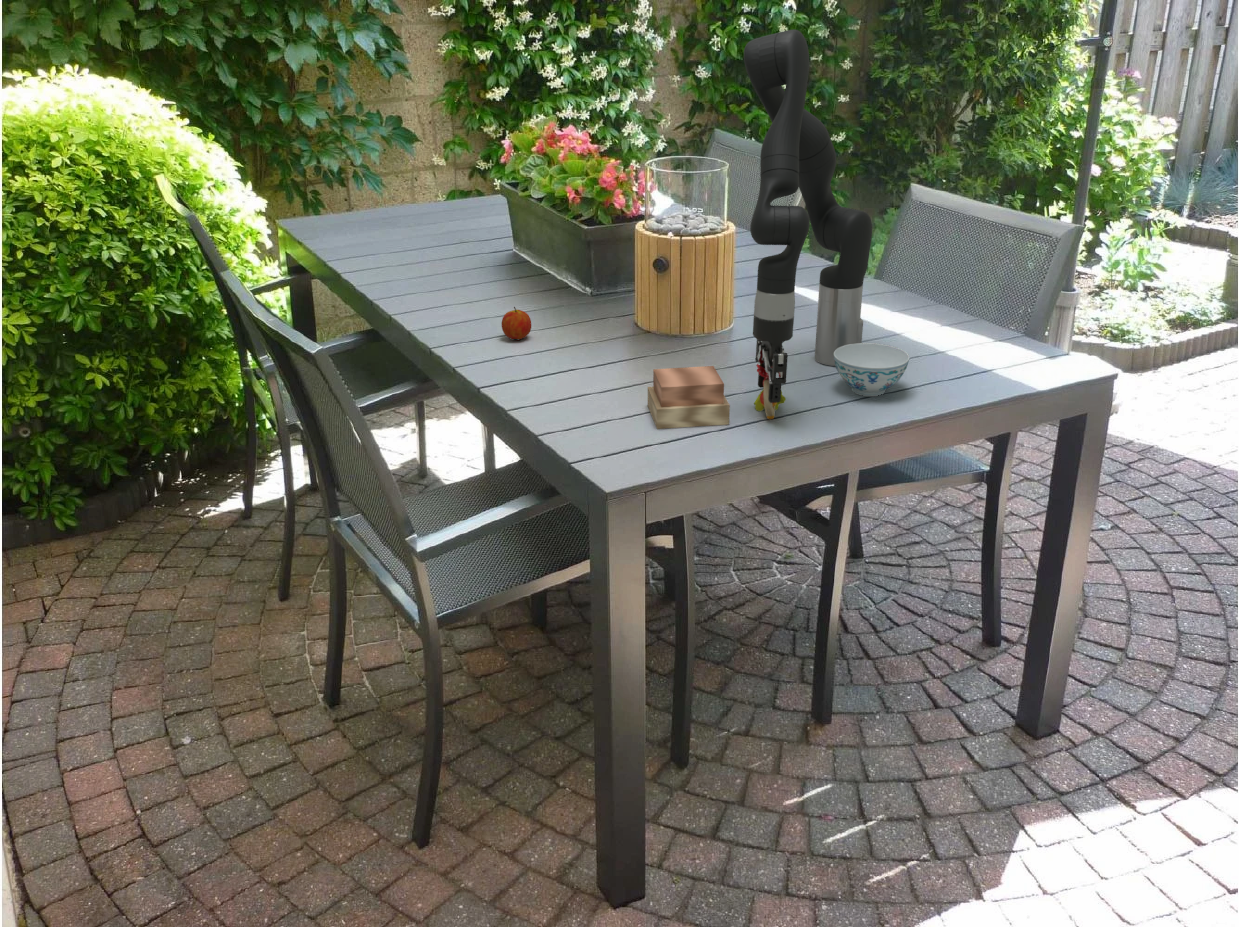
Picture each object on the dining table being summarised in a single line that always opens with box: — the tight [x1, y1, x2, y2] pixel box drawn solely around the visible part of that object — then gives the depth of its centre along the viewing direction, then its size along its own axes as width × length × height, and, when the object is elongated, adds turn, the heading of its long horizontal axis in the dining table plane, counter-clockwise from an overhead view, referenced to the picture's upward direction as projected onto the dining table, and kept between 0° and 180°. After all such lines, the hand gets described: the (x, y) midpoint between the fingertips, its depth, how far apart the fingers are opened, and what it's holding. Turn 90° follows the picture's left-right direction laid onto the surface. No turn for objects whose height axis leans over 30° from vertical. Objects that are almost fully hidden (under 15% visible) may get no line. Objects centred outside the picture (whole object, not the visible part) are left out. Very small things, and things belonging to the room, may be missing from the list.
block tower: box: [647, 365, 731, 430], centre depth 216 cm, size 14×12×8 cm
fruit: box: [501, 306, 532, 340], centre depth 259 cm, size 7×7×8 cm
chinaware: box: [834, 342, 910, 397], centre depth 227 cm, size 15×15×8 cm
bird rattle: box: [753, 363, 786, 420], centre depth 215 cm, size 6×11×9 cm
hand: (768, 394), depth 215 cm, fingers closed on bird rattle, 8 cm apart
